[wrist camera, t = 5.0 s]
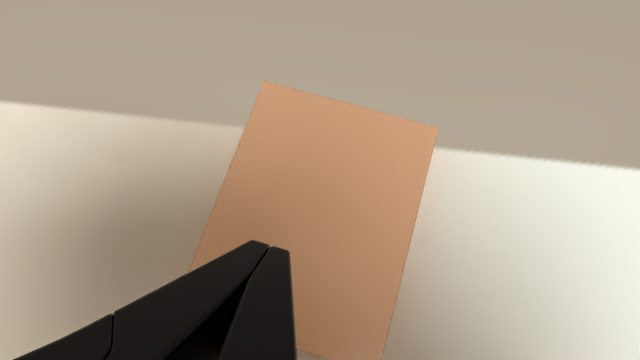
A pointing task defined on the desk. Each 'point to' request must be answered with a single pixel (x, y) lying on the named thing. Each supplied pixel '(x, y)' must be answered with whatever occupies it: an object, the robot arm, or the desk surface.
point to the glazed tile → (326, 211)
